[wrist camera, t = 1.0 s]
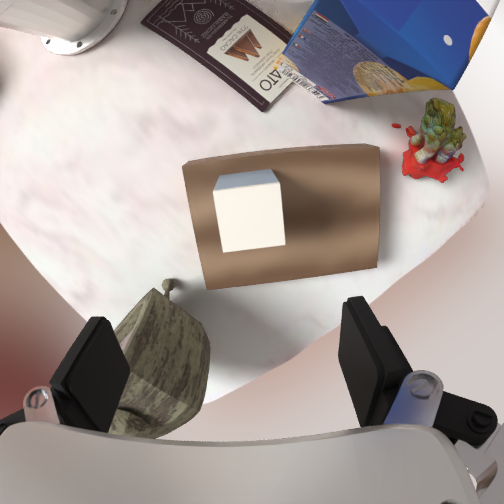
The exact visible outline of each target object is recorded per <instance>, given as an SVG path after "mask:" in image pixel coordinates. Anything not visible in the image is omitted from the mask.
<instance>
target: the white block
mask: <svg viewBox="0 0 504 504" xmlns="http://www.w3.org/2000/svg"><path fill="white" fill-rule="evenodd" d="M213 196H214V203H215V209H216V215H217V220H218V226H219V232H220V238H221V244H222V249H223V253H224V252H232V251H240V250H248V249H257V248H265V247H273V246H281V245H285V233H284V222H283V211H282V200H281V190H280V183H279V181H278V179H277V178H276V176H275V175H274V173H273V171H272V170H271V169H267V170H258V171H250V172H242V173H234V174H227V175H220V176H219V178H218V180H217V183H216V185H215V188H214V190H213Z"/></svg>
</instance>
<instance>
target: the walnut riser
mask: <svg viewBox="0 0 504 504" xmlns="http://www.w3.org/2000/svg"><path fill="white" fill-rule="evenodd" d="M267 169H271V170H272V171H273V173H274V175H275V176H276V178H277V179H278V181H279V183H280V190H281V200H282V211H283V222H284V233H285V245H281V246H273V247H265V248H257V249H248V250H240V251H232V252H224V253H223V249H222V244H221V238H220V232H219V226H218V220H217V215H216V209H215V203H214V196H213V190H214V188H215V185H216V183H217V180H218V178H219V176H220V175H227V174H234V173H242V172H250V171H258V170H267ZM182 170H183V175H184V181H185V186H186V192H187V197H188V203H189V208H190V213H191V218H192V223H193V228H194V233H195V238H196V243H197V247H198V252H199V257H200V261H201V266H202V271H203V275H204V280H205V284H206V288H207V290H212V289H221V288H230V287H239V286H247V285H256V284H264V283H272V282H280V281H287V280H295V279H302V278H310V277H317V276H324V275H331V274H338V273H345V272H352V271H358V270H365V269H371V268H377V260H378V246H379V225H380V151H379V147H377V146H373V145H368V144H340V145H322V146H307V147H294V148H283V149H273V150H264V151H255V152H247V153H239V154H232V155H225V156H218V157H211V158H205V159H199V160H193V161H188V162H187V163H186V164H184V165H183V166H182Z"/></svg>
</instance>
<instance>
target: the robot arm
mask: <svg viewBox="0 0 504 504" xmlns="http://www.w3.org/2000/svg"><path fill="white" fill-rule="evenodd" d="M126 4H127V0H0V27H4V28H9V29H13V30H17V31H21V32H25V33H29V34H33V35H37V36H40V37H41V40H42V43H43V45H44V46H45V48H46V49H48V50H49V51H50V52H52V53H55V54H58V55H74V54H78V53H81V52H83V51H86V50H87V49H89V48H91V47H93V46H94V45H96V44H97V43H98V42H100V41H101V40H102V39H103V38H104V37H106V36H107V35H108V34H109V33H110V32H111V30H112V29H113V28H114V27H115V26H116V24H117V23H118V21H119V20H120V18H121V16H122V14H123V12H124V10H125V7H126ZM338 358H339V363H340V366H341V369H342V372H343V375H344V378H345V381H346V383H347V386H348V390H349V393H350V396H351V399H352V402H353V405H354V408H355V411H356V414H357V418H358V421H359V424H360V426H361V428H355V429H349V430H342V431H337V432H330V433H324V434H317V435H309V436H300V437H292V438H282V439H272V440H258V441H231V442H197V441H196V442H195V441H174V440H160V439H149V438H139V437H131V436H123V435H116V434H110V433H108V432H109V429H110V426H111V423H112V421H113V418H114V415H115V412H116V410H117V407H118V404H119V401H120V399H121V396H122V393H123V391H124V388H125V386H126V383H127V380H128V378H129V375H130V366H129V364H128V362H127V360H126V358H125V355H124V353H123V351H122V349H121V347H120V344H119V342H118V340H117V337H116V335H115V333H114V330H113V328H112V326H111V323H110V321H109V320H107V319H106V318H105V317H91V318H90V319H89V321H88V322H87V324H86V325H85V327H84V328H83V330H82V331H81V333H80V334H79V336H78V337H77V339H76V340H75V342H74V343H73V345H72V346H71V348H70V349H69V351H68V352H67V354H66V356H65V357H64V359H63V360H62V362H61V364H60V365H59V367H58V369H57V370H56V372H55V373H54V375H53V377H52V378H51V380H50V382H49V383H50V384H51V386H52V387H51V389H49V388H48V387H45V386H38V387H35V388H33V389H32V390H30V391H29V392H28V393H27V395H26V396H25V398H24V402H23V405H24V408H23V409H21V410H19V411H17V412H15V413H13V414H11V415H9V416H7V417H5V418H3V419H1V420H0V504H504V423H503V424H502V425H500V424H499V423H497V422H498V419H497V416H496V414H495V412H494V410H493V409H491V408H490V407H489V406H487V405H484V404H481V403H478V402H475V401H472V400H468V399H466V398H463V397H459V396H456V395H454V394H450V393H447V392H445V391H443V384H442V381H441V379H440V378H439V377H438V376H437V375H436V374H434V373H432V372H429V371H425V370H418V371H414V372H413V370H412V368H411V366H410V364H409V363H408V361H407V359H406V357H405V356H404V354H403V352H402V350H401V349H400V347H399V345H398V344H397V342H396V340H395V339H394V337H393V335H392V334H391V332H390V330H389V329H388V327H387V326H381V325H380V323H379V322H378V320H377V318H376V317H375V315H374V313H373V312H372V310H371V308H370V307H369V305H368V303H367V302H366V300H365V298H364V297H363V296H357V297H350V298H348V300H347V302H344V303H343V307H342V320H341V332H340V342H339V351H338ZM466 467H467V468H468V470H467V468H466ZM468 472H469V473H470V474H472V475H473V476H474V478H475V479H476V482H477V488H476V490H475V487H474V485H473V482H472V480H471V478H470V475H469V473H468Z"/></svg>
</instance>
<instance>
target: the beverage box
mask: <svg viewBox="0 0 504 504" xmlns="http://www.w3.org/2000/svg"><path fill="white" fill-rule="evenodd" d="M499 1H500V0H315V1H314V3H313V4H312V6H311V7H310V9H309V11H308V12H307V14H306V15H305V17H304V18H303V20H302V21H301V23H300V25H299V26H298V28H297V29H296V31H295V33H294V34H293V36H292V37H291V39H290V41H289V42H288V44H287V46H286V47H285V49H284V51H283V52H282V54H281V56H280V57H279V59H278V61H277V62H276V64H275V66H274V67H273V68H274V69H275V70H277V71H278V72H280V73H282V74H283V75H285V76H286V77H288V78H289V79H291V80H292V82H294V83H295V84H297V85H298V86H300V87H301V88H303V89H304V90H306V91H307V92H308V93H310V94H311V95H313V96H314V97H316V98H317V99H318V100H320V101H321V102H322V103H324V104H328V103H333V102H339V101H344V100H350V99H356V98H363V97H370V96H377V95H385V94H394V93H403V92H414V91H427V90H445V89H451V90H454V89H455V87H456V85H457V84H458V82H459V80H460V78H461V77H462V75H463V73H464V71H465V69H466V68H467V66H468V64H469V62H470V60H471V58H472V56H473V55H474V53H475V51H476V49H477V47H478V45H479V43H480V41H481V39H482V37H483V35H484V33H485V31H486V29H487V27H488V25H489V23H490V21H491V19H492V17H493V14H494V12H495V10H496V8H497V6H498V3H499Z"/></svg>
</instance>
